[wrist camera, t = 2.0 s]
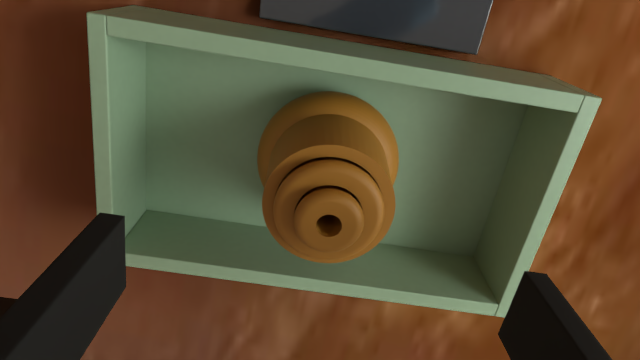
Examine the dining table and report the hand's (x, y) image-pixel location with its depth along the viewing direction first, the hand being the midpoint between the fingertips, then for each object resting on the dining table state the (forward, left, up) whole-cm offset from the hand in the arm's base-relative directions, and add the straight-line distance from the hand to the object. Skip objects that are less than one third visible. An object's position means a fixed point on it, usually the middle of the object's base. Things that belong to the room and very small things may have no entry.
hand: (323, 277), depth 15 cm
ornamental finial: (0, 0, -11) cm, 11 cm away
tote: (0, 0, -12) cm, 12 cm away
